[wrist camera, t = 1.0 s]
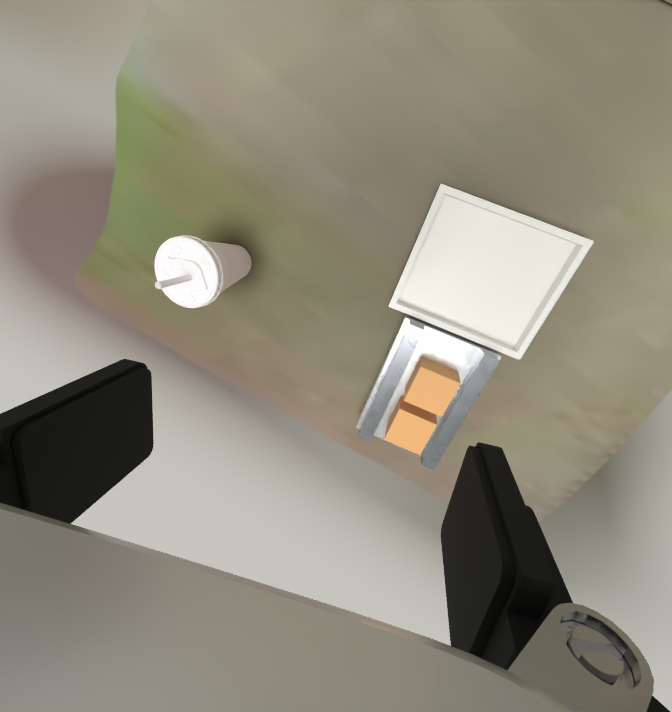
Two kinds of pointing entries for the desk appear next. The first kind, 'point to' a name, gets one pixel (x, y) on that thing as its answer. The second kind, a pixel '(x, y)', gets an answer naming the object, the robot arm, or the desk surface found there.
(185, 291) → the smoothie
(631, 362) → the desk surface
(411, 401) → the orange square block
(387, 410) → the slot block
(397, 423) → the chip
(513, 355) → the tray
